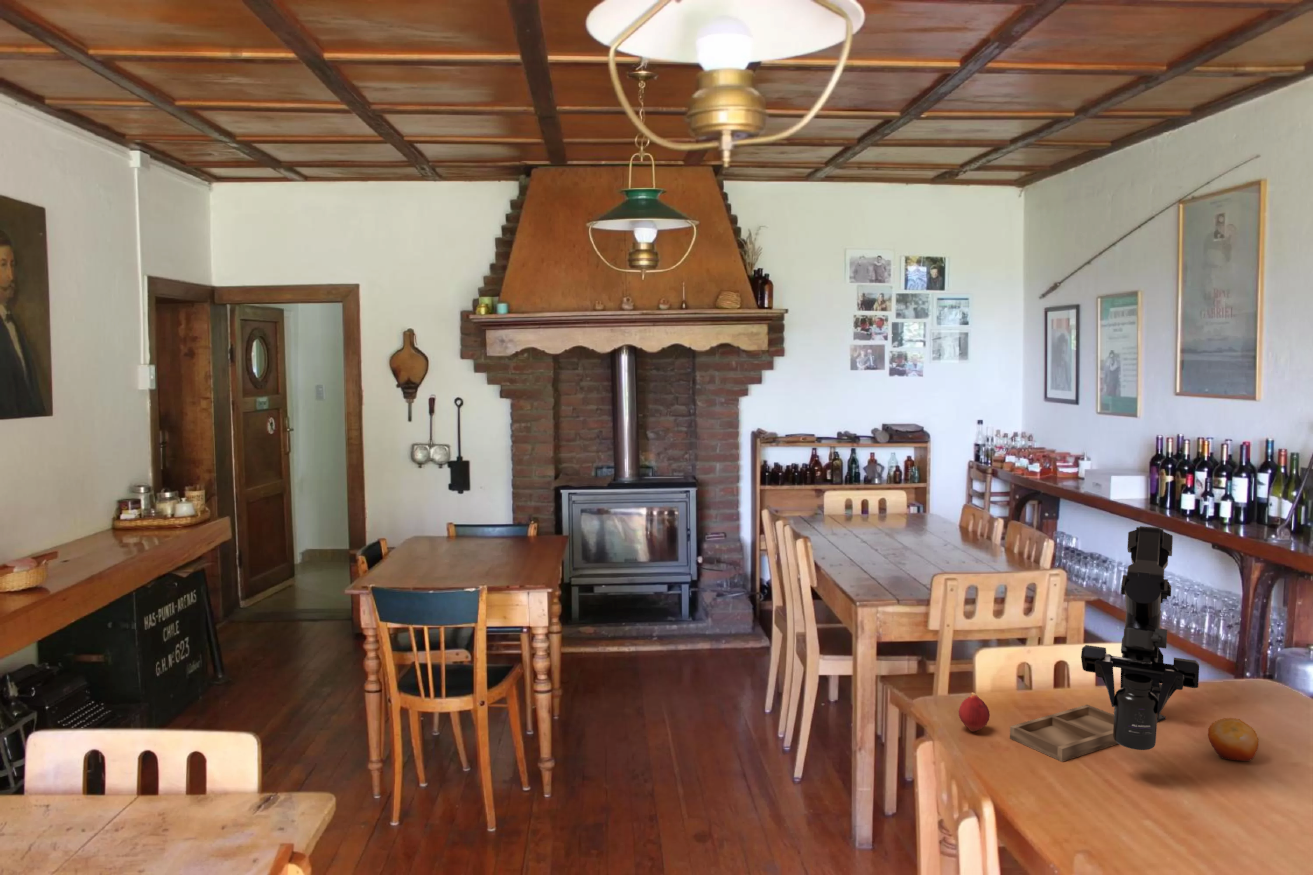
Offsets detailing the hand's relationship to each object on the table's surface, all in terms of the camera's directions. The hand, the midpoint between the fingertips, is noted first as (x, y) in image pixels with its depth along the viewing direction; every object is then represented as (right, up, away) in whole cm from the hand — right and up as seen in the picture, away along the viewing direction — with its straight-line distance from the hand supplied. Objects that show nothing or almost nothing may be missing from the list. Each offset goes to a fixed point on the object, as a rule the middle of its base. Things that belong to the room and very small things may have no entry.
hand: (1135, 709), depth 162 cm
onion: (-20, -12, +24) cm, 33 cm away
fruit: (+24, -12, +11) cm, 29 cm away
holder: (-1, -12, +20) cm, 23 cm away
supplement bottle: (+1, -7, +2) cm, 7 cm away
